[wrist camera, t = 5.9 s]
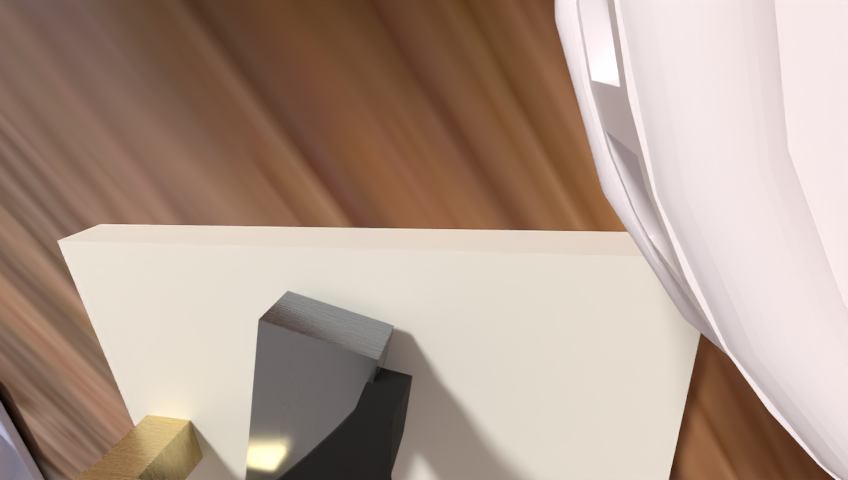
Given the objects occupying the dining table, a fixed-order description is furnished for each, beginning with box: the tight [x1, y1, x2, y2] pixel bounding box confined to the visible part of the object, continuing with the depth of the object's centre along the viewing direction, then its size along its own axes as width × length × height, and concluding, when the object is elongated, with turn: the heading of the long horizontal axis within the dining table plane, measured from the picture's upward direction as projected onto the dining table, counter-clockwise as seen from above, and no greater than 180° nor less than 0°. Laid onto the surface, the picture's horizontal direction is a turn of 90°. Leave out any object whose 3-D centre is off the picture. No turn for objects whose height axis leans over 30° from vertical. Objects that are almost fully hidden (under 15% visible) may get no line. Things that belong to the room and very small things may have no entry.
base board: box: [58, 224, 701, 480], centre depth 15 cm, size 18×16×2 cm
